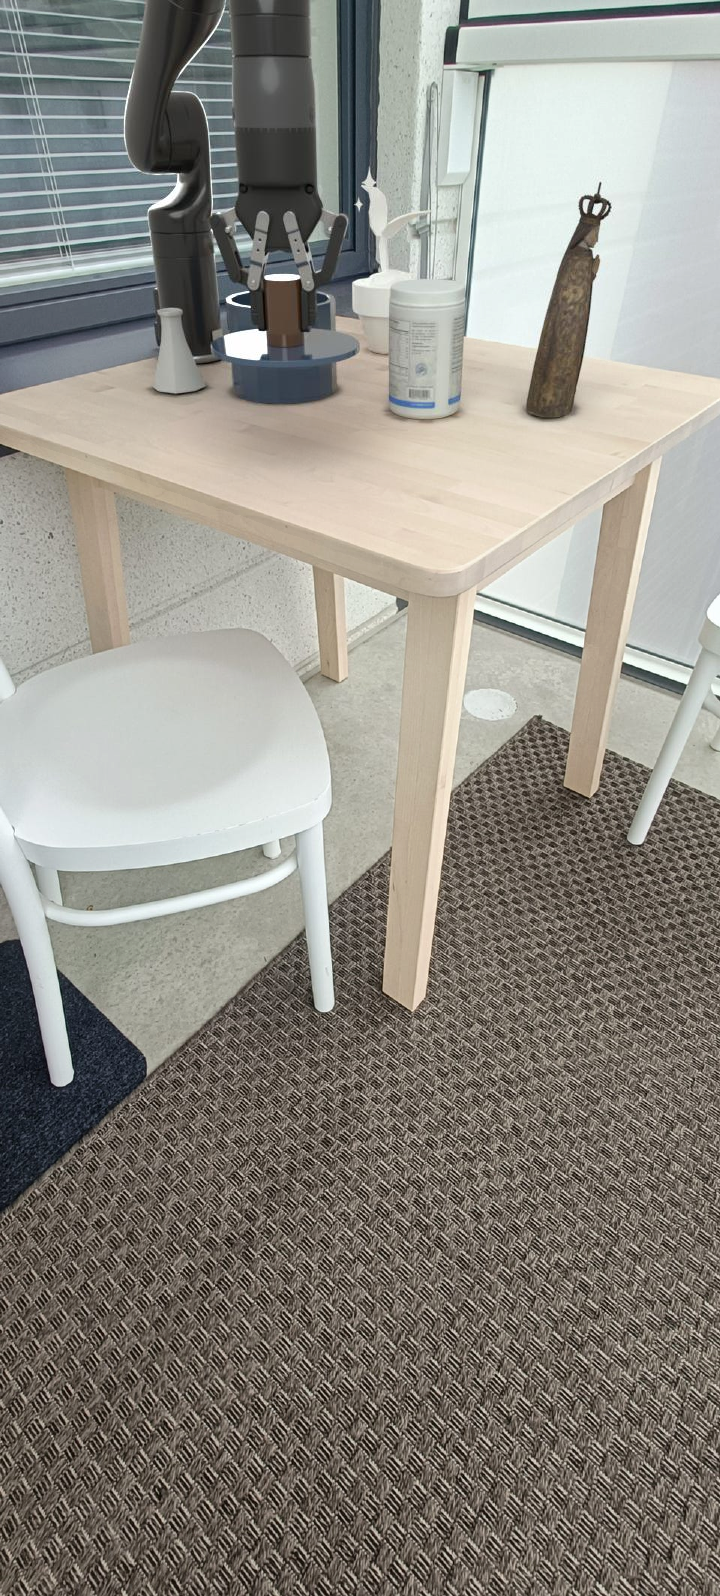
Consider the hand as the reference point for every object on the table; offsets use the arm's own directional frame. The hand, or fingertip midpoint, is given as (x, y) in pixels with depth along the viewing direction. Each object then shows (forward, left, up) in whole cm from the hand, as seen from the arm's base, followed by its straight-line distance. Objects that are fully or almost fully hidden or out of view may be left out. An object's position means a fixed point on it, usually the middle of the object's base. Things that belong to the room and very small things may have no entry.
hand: (284, 329), depth 91 cm
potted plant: (-22, +54, -14) cm, 60 cm away
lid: (0, 0, -2) cm, 2 cm away
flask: (-34, +17, -14) cm, 40 cm away
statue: (+15, +37, -14) cm, 42 cm away
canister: (-21, +25, -14) cm, 35 cm away
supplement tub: (+1, +27, -14) cm, 30 cm away
